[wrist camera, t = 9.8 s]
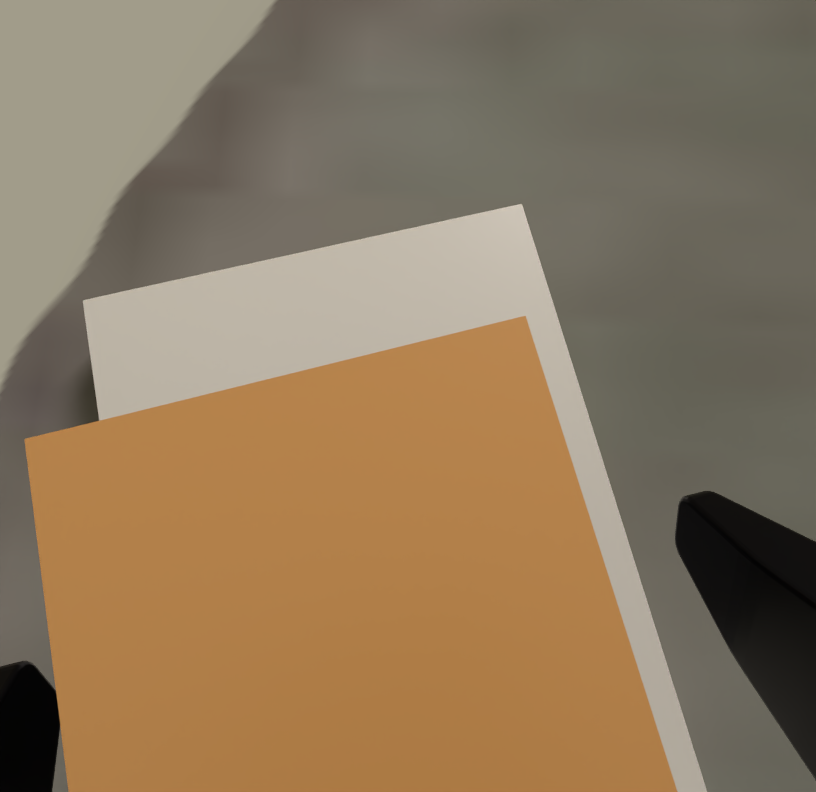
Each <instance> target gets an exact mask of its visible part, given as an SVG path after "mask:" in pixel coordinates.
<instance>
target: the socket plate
mask: <svg viewBox="0 0 816 792" xmlns="http://www.w3.org/2000/svg"><path fill="white" fill-rule="evenodd" d="M83 306H84V313H85V320H86V327H87V335H88V342H89V349H90V357H91V364H92V371H93V378H94V386H95V393H96V400H97V408H98V415H99V421H100V420H104V419H108V418H112V417H116V416H120V415H124V414H129V413H133V412H137V411H141V410H145V409H149V408H153V407H157V406H161V405H165V404H169V403H173V402H177V401H181V400H185V399H189V398H193V397H197V396H202V395H206V394H210V393H214V392H218V391H222V390H226V389H230V388H234V387H238V386H242V385H246V384H250V383H254V382H258V381H262V380H266V379H270V378H275V377H279V376H283V375H287V374H291V373H295V372H299V371H303V370H307V369H311V368H315V367H319V366H323V365H327V364H331V363H335V362H339V361H343V360H347V359H352V358H356V357H360V356H364V355H368V354H372V353H376V352H380V351H384V350H388V349H392V348H396V347H400V346H404V345H408V344H412V343H416V342H420V341H425V340H429V339H433V338H437V337H441V336H445V335H449V334H453V333H457V332H461V331H465V330H469V329H473V328H477V327H481V326H485V325H489V324H493V323H498V322H502V321H506V320H510V319H514V318H518V317H522V316H526V319H527V322H528V325H529V328H530V331H531V334H532V338H533V341H534V344H535V347H536V350H537V353H538V356H539V359H540V363H541V366H542V369H543V372H544V375H545V378H546V381H547V385H548V388H549V391H550V394H551V397H552V400H553V403H554V406H555V410H556V413H557V416H558V419H559V422H560V425H561V428H562V432H563V435H564V438H565V441H566V444H567V447H568V450H569V453H570V457H571V460H572V463H573V466H574V469H575V472H576V475H577V479H578V482H579V485H580V488H581V491H582V494H583V497H584V500H585V504H586V507H587V510H588V513H589V516H590V519H591V522H592V525H593V529H594V532H595V535H596V538H597V541H598V544H599V547H600V551H601V554H602V557H603V560H604V563H605V566H606V569H607V572H608V576H609V579H610V582H611V585H612V588H613V591H614V594H615V598H616V601H617V604H618V607H619V610H620V613H621V616H622V619H623V623H624V626H625V629H626V632H627V635H628V638H629V641H630V645H631V648H632V651H633V654H634V657H635V660H636V663H637V666H638V670H639V673H640V676H641V679H642V682H643V685H644V688H645V692H646V695H647V698H648V701H649V704H650V707H651V710H652V713H653V717H654V720H655V723H656V726H657V729H658V732H659V735H660V739H661V742H662V745H663V748H664V751H665V754H666V757H667V760H668V764H669V767H670V770H671V773H672V776H673V779H674V782H675V786H676V789H677V792H707V790H706V787H705V784H704V780H703V777H702V774H701V771H700V768H699V765H698V761H697V758H696V755H695V752H694V749H693V746H692V742H691V739H690V736H689V733H688V730H687V727H686V723H685V720H684V717H683V714H682V711H681V708H680V704H679V701H678V698H677V695H676V692H675V688H674V685H673V682H672V679H671V676H670V673H669V669H668V666H667V663H666V660H665V657H664V654H663V650H662V647H661V644H660V641H659V638H658V635H657V631H656V628H655V625H654V622H653V619H652V616H651V612H650V609H649V606H648V603H647V600H646V596H645V593H644V590H643V587H642V584H641V581H640V577H639V574H638V571H637V568H636V565H635V562H634V558H633V555H632V552H631V549H630V546H629V543H628V539H627V536H626V533H625V530H624V527H623V524H622V520H621V517H620V514H619V511H618V508H617V504H616V501H615V498H614V495H613V492H612V489H611V485H610V482H609V479H608V476H607V473H606V470H605V466H604V463H603V460H602V457H601V454H600V451H599V447H598V444H597V441H596V438H595V435H594V432H593V428H592V425H591V422H590V419H589V416H588V412H587V409H586V406H585V403H584V400H583V397H582V393H581V390H580V387H579V384H578V381H577V378H576V374H575V371H574V368H573V365H572V362H571V359H570V355H569V352H568V349H567V346H566V343H565V340H564V336H563V333H562V330H561V327H560V324H559V320H558V317H557V314H556V311H555V308H554V305H553V301H552V298H551V295H550V292H549V289H548V286H547V282H546V279H545V276H544V273H543V270H542V267H541V263H540V260H539V257H538V254H537V251H536V248H535V244H534V241H533V238H532V235H531V232H530V228H529V225H528V222H527V219H526V216H525V213H524V209H523V206H522V204H519V205H514V206H510V207H505V208H501V209H496V210H492V211H487V212H483V213H478V214H473V215H469V216H464V217H460V218H455V219H451V220H446V221H442V222H437V223H433V224H428V225H423V226H419V227H414V228H410V229H405V230H401V231H396V232H392V233H387V234H383V235H378V236H373V237H369V238H364V239H360V240H355V241H351V242H346V243H342V244H337V245H333V246H328V247H323V248H319V249H314V250H310V251H305V252H301V253H296V254H292V255H287V256H283V257H278V258H273V259H269V260H264V261H260V262H255V263H251V264H246V265H242V266H237V267H233V268H228V269H223V270H219V271H214V272H210V273H205V274H201V275H196V276H192V277H187V278H182V279H178V280H173V281H169V282H164V283H160V284H155V285H151V286H146V287H142V288H137V289H132V290H128V291H123V292H119V293H114V294H110V295H105V296H101V297H96V298H92V299H87V300H83Z"/></svg>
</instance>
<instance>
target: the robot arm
mask: <svg viewBox="0 0 816 792" xmlns="http://www.w3.org/2000/svg"><path fill="white" fill-rule="evenodd" d="M675 544H676V548H677V550H678V553H679V555H680V557H681V559H682V561H683V563H684V565H685V567H686V569H687V570H688V572H689V574H690V576H691V578H692V580H693V582H694V584H695V586H696V588H697V589H698V591H699V593H700V595H701V597H702V599H703V601H704V603H705V605H706V607H707V608H708V610H709V612H710V614H711V616H712V618H713V620H714V622H715V624H716V625H717V627H718V629H719V631H720V633H721V635H722V637H723V639H724V640H725V642H726V644H727V646H728V648H729V649H730V651H731V653H732V655H733V656H734V658H735V659H736V661H737V662H738V664H739V666H740V667H741V669H742V670H743V672H744V673H745V675H746V676H747V678H748V679H749V681H750V682H751V684H752V685H753V687H754V688H755V690H756V691H757V693H758V694H759V696H760V697H761V699H762V700H763V702H764V703H765V705H766V706H767V708H768V709H769V711H770V712H771V714H772V715H773V717H774V718H775V720H776V721H777V723H778V724H779V726H780V727H781V729H782V730H783V732H784V733H785V735H786V736H787V738H788V739H789V741H790V742H791V744H792V745H793V747H794V748H795V750H796V751H797V753H798V754H799V756H800V757H801V759H802V760H803V762H804V763H805V765H806V766H807V768H808V769H809V771H810V772H811V774H812V775H813V777H814V778H815V780H816V542H815V541H813V540H811V539H809V538H807V537H805V536H803V535H801V534H799V533H797V532H795V531H793V530H791V529H789V528H786V527H784V526H782V525H780V524H778V523H776V522H774V521H772V520H770V519H768V518H766V517H764V516H762V515H760V514H758V513H756V512H754V511H752V510H750V509H748V508H746V507H744V506H742V505H740V504H738V503H735V502H733V501H731V500H729V499H727V498H725V497H723V496H721V495H719V494H717V493H715V492H711V491H703V492H699V493H695V494H691V495H687V496H684V497H682V498H681V500H680V501H679V505H678V513H677V522H676V531H675ZM59 731H60V718H59V710H58V702H57V694H56V690H55V689H54V688H53V686H52V685H51V684H50V683H49V682H48V680H47V679H46V678H45V677H44V676H43V674H42V673H41V672H40V671H39V670H38V668H37V667H36V666H35V665H34V664H33V663H31V662H28V661H21V662H17V663H13V664H9V665H5V666H1V667H0V792H52V788H53V780H54V772H55V764H56V756H57V748H58V739H59Z"/></svg>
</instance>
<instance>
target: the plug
mask: <svg viewBox="0 0 816 792" xmlns="http://www.w3.org/2000/svg"><path fill="white" fill-rule="evenodd" d="M25 446H26V454H27V462H28V470H29V478H30V486H31V494H32V502H33V510H34V518H35V526H36V534H37V542H38V550H39V558H40V566H41V574H42V582H43V590H44V598H45V606H46V614H47V622H48V630H49V638H50V646H51V654H52V662H53V670H54V678H55V686H56V694H57V702H58V710H59V718H60V726H61V734H62V742H63V750H64V758H65V766H66V774H67V782H68V790H69V792H677V789H676V786H675V782H674V779H673V776H672V773H671V770H670V767H669V764H668V760H667V757H666V754H665V751H664V748H663V745H662V742H661V739H660V735H659V732H658V729H657V726H656V723H655V720H654V717H653V713H652V710H651V707H650V704H649V701H648V698H647V695H646V692H645V688H644V685H643V682H642V679H641V676H640V673H639V670H638V666H637V663H636V660H635V657H634V654H633V651H632V648H631V645H630V641H629V638H628V635H627V632H626V629H625V626H624V623H623V619H622V616H621V613H620V610H619V607H618V604H617V601H616V598H615V594H614V591H613V588H612V585H611V582H610V579H609V576H608V572H607V569H606V566H605V563H604V560H603V557H602V554H601V551H600V547H599V544H598V541H597V538H596V535H595V532H594V529H593V525H592V522H591V519H590V516H589V513H588V510H587V507H586V504H585V500H584V497H583V494H582V491H581V488H580V485H579V482H578V479H577V475H576V472H575V469H574V466H573V463H572V460H571V457H570V453H569V450H568V447H567V444H566V441H565V438H564V435H563V432H562V428H561V425H560V422H559V419H558V416H557V413H556V410H555V406H554V403H553V400H552V397H551V394H550V391H549V388H548V385H547V381H546V378H545V375H544V372H543V369H542V366H541V363H540V359H539V356H538V353H537V350H536V347H535V344H534V341H533V338H532V334H531V331H530V328H529V325H528V322H527V319H526V316H522V317H518V318H514V319H510V320H506V321H502V322H498V323H493V324H489V325H485V326H481V327H477V328H473V329H469V330H465V331H461V332H457V333H453V334H449V335H445V336H441V337H437V338H433V339H429V340H425V341H420V342H416V343H412V344H408V345H404V346H400V347H396V348H392V349H388V350H384V351H380V352H376V353H372V354H368V355H364V356H360V357H356V358H352V359H347V360H343V361H339V362H335V363H331V364H327V365H323V366H319V367H315V368H311V369H307V370H303V371H299V372H295V373H291V374H287V375H283V376H279V377H275V378H270V379H266V380H262V381H258V382H254V383H250V384H246V385H242V386H238V387H234V388H230V389H226V390H222V391H218V392H214V393H210V394H206V395H202V396H197V397H193V398H189V399H185V400H181V401H177V402H173V403H169V404H165V405H161V406H157V407H153V408H149V409H145V410H141V411H137V412H133V413H129V414H124V415H120V416H116V417H112V418H108V419H104V420H100V421H96V422H92V423H88V424H84V425H80V426H76V427H72V428H68V429H64V430H60V431H56V432H51V433H47V434H43V435H39V436H35V437H31V438H27V439H25Z"/></svg>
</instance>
